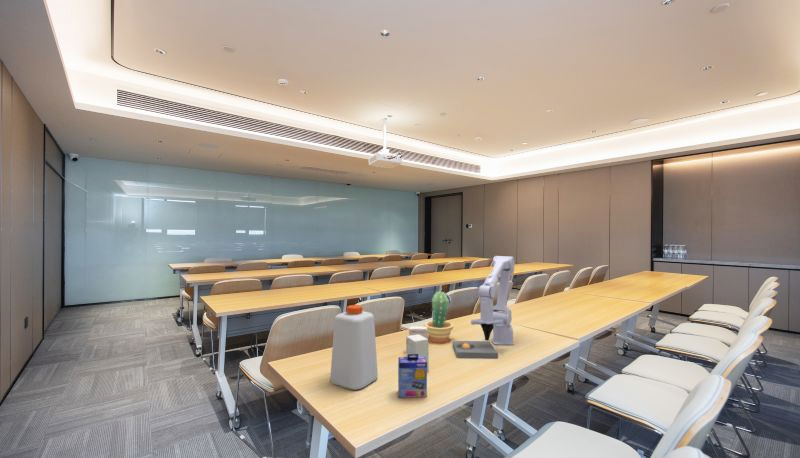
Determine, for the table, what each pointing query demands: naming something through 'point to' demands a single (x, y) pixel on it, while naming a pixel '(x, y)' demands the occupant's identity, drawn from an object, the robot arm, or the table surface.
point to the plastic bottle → (354, 349)
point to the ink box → (418, 331)
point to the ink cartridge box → (412, 376)
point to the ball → (465, 345)
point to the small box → (417, 346)
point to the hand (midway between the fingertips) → (486, 339)
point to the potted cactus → (439, 318)
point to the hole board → (475, 349)
